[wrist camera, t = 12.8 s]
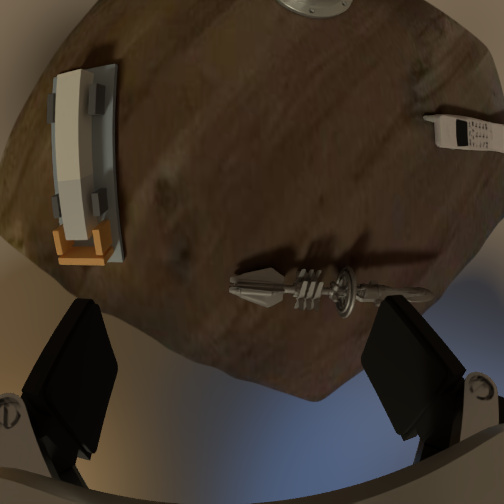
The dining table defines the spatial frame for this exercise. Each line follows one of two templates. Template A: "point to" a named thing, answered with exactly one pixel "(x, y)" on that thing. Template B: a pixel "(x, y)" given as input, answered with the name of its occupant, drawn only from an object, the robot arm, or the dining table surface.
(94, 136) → the clip rail
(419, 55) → the dining table surface
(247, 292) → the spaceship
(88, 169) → the long cream stick
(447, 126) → the mobile phone
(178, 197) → the dining table surface
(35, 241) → the dining table surface
